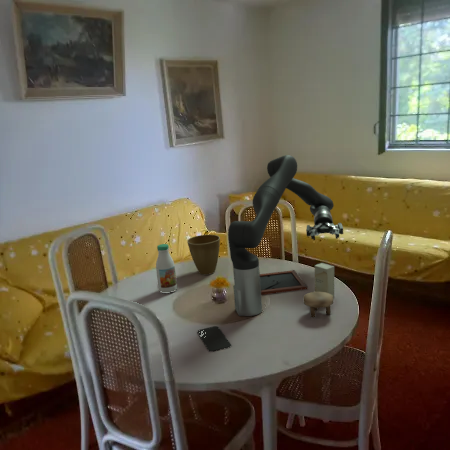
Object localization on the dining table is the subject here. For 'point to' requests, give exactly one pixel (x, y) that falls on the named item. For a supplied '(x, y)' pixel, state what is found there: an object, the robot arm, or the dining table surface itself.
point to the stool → (318, 301)
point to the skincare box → (324, 278)
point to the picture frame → (281, 282)
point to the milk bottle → (165, 270)
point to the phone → (214, 338)
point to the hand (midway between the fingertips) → (325, 237)
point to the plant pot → (204, 252)
